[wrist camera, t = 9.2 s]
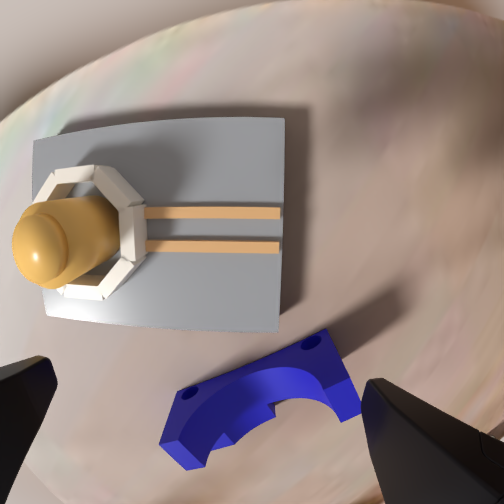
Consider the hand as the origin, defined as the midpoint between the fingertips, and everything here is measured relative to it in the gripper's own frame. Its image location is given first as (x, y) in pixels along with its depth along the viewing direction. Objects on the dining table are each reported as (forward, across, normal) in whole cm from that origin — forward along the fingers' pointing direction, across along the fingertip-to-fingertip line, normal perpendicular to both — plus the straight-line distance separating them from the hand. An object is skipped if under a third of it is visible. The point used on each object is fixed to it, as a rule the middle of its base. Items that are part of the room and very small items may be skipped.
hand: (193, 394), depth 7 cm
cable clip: (+12, -2, +9) cm, 15 cm away
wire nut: (+10, +8, -3) cm, 13 cm away
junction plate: (+12, +5, -3) cm, 13 cm away
